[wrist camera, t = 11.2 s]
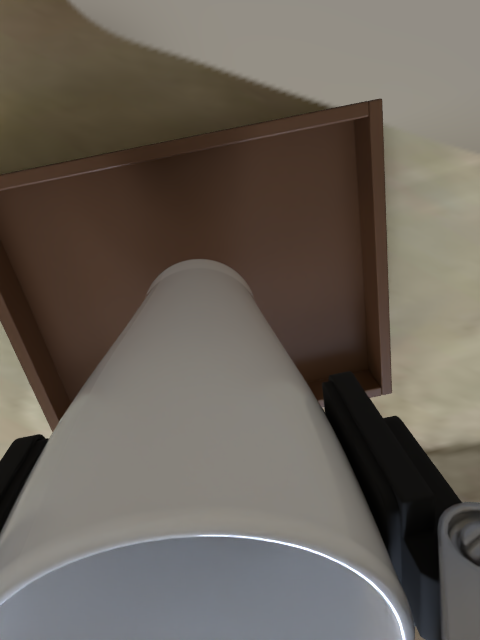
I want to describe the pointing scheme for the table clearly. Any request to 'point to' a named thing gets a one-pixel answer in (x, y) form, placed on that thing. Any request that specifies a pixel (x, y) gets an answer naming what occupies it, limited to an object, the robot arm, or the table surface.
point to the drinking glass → (196, 492)
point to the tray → (205, 244)
